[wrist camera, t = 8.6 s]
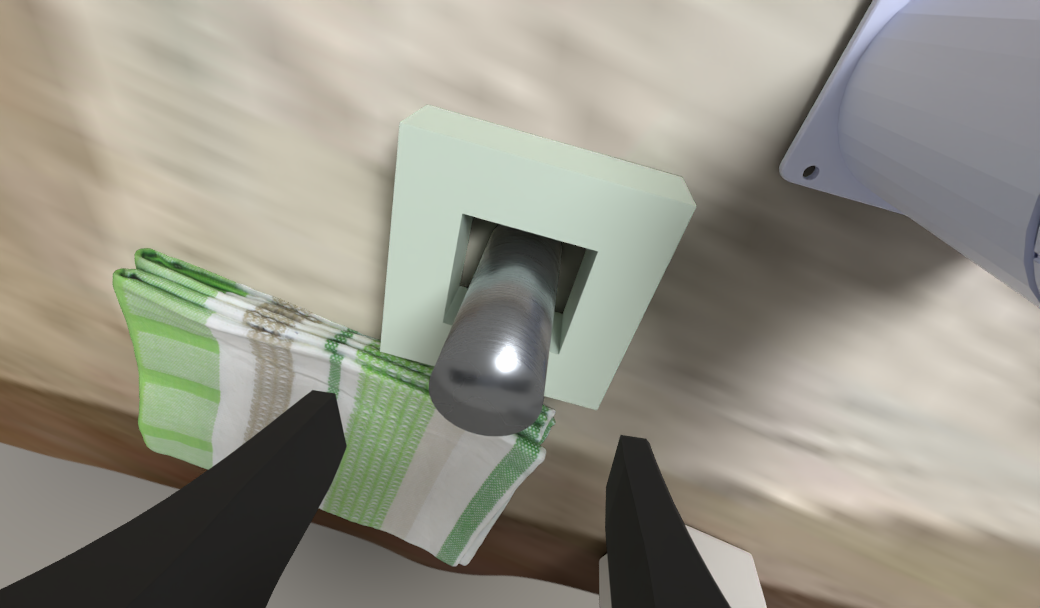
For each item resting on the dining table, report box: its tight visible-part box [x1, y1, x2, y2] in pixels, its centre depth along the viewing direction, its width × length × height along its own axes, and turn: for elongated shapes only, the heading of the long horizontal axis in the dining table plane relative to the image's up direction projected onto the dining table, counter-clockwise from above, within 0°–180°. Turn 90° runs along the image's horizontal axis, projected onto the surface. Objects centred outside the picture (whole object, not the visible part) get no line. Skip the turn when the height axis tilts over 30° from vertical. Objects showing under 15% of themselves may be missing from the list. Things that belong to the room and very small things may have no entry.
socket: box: [380, 105, 697, 410], centre depth 19 cm, size 10×10×3 cm
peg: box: [429, 224, 562, 436], centre depth 17 cm, size 3×3×9 cm
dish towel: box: [113, 248, 556, 566], centre depth 28 cm, size 17×23×4 cm
